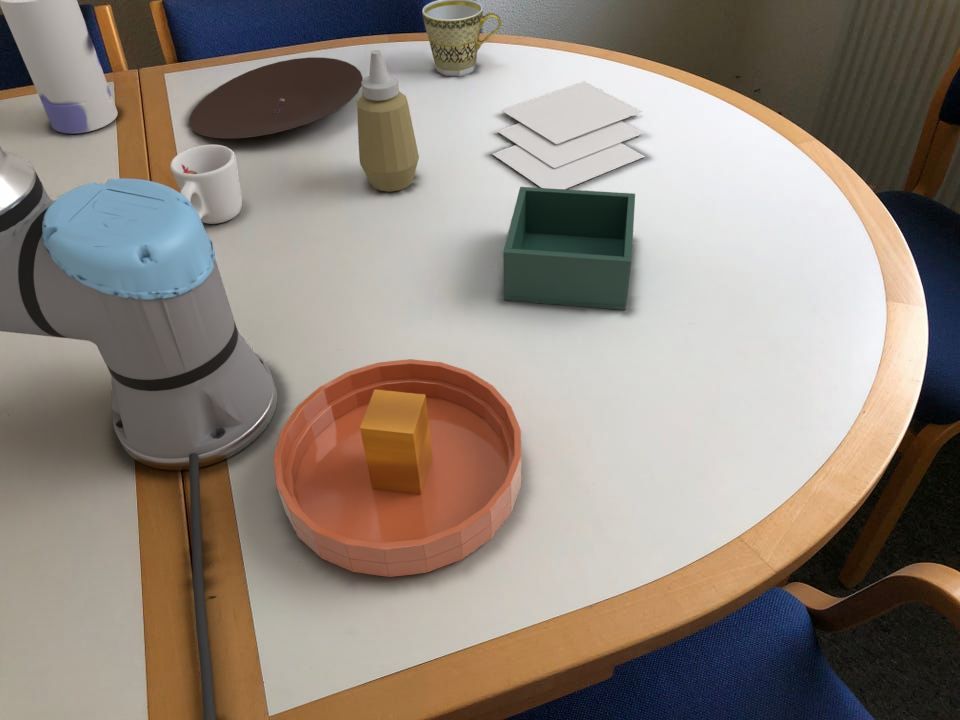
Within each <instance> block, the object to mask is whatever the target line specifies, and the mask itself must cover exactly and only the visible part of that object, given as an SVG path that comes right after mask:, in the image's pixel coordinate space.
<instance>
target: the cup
mask: <svg viewBox="0 0 960 720" xmlns="http://www.w3.org/2000/svg"><path fill="white" fill-rule="evenodd" d="M170 171H171V173H172V175H173V177H174V179H175V182H176V184H177V186H178V188H179V193H181V194H182V195H183V196H184V197H186V198H187V199H188V200H189V201H190V202H191V203H192V205H193V207H194V208H195V209H196V210H197V212H198V214H199V216H200V219H201V221H202V224H210V225H211V224H212V225H214V224H221V223H225V222H228V221H230V220H232V219H235V217H237V215H239V214H240V212H241V210H242V207H243V197H242V196H243V195H242V189H241V184H240V175H239V170H238V164H237V157H236V154H235V152H234V151H233V149H231V148H229V147H228V146H226V145H225V146H224V145H222V144H202V145H197V146H193V147H190V148H188V149H185V150H182V151H181V152H179V153H178V154H176V155H175V156H174V157H173V158H172V160H171V162H170Z"/></svg>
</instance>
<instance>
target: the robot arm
mask: <svg viewBox="0 0 960 720" xmlns="http://www.w3.org/2000/svg"><path fill="white" fill-rule="evenodd" d="M214 246H215V245H214V244H213V240H212V239H211V237H210V236H209V234H208V232H207V230H206V229H205V226H204V223H203V222H202V221H201V219H200V216H199V214H198V212H197V210H196V209H195V208H194V207H193V205H192V203H191V202H190V201H189V200H188V199H187V198H186V197H184V196H183V195H182V194H181V193H180V191H177V190H176V189H174V188H172V187H170V186H167V185H166V184H162V183H159V182H156V181H151V180H148V179H139V178H128V177H127V178H110V179H108V180H107V181H106V182H105V183H97V182H95V181H92V182H89V183H86V184H83V185H80V186H77V187H75V188H72V189H71V190H69V191H67V192H65V193H63V194H61V195H60V196H58V197H57V198H56V199H55V200H53V199H52V198H50V196H49V194H48V192H47V191H46V189H45V187H44V184H43V183H42V181H41V179H40V177H39V175H38V173H37V171H36V169H35V167H34V166H33V163H31V162H30V161H29V160H28V159H26V158H25V157H23V156H22V155H19V154H16V153H13V152H10V151H7V150H4V149H3V148H2V147H1V146H0V332H2V333H3V332H4V333H14V334H23V335H24V334H25V335H31V336H32V335H33V336H43V337H51V338H60V339H70V340H77V341H78V340H79V341H87V342H91V343H92V344H94V345H95V346H96V347H97V350H98V351H99V354H100V356H101V357H102V359H103V361H104V363H105V365H106V366H107V369H108V371H109V374H110V379H111V381H110V382H111V409H112V410H111V411H112V412H111V416H112V424H113V429H114V431H115V434H116V436H117V438H118V440H119V442H120V443H121V446H122V448H123V449H124V450H125V453H127V454H128V455H129V456H130V457H131V458H132V459H134V460H135V461H137V462H138V463H140V464H142V465H145V466H147V467H150V468H153V469H159V470H165V471H186V470H187V471H188V470H189V472H188V473H189V496H190V497H189V498H190V499H189V500H190V525H191V557H192V558H191V559H192V560H191V561H192V584H193V602H194V617H195V627H196V628H195V629H196V639H197V648H198V658H199V659H198V660H199V669H200V680H201V695H202V711H203V713H202V714H203V720H217V713H216V700H215V688H214V677H213V665H212V657H211V646H210V639H209V627H208V618H207V608H206V596H205V594H206V593H205V579H204V576H205V575H204V559H203V558H204V557H203V556H204V555H203V533H202V532H203V531H202V529H203V527H202V509H201V488H200V486H201V485H200V468H203V467H207V466H210V465H214V464H216V463H219V462H222V461H224V460H226V459H228V458H230V457H232V456H235V455H236V454H237V453H239V452H241V451H242V450H244V449H246V448H247V447H248V446H250V444H252V443H253V442H254V441H255V440H257V439H258V437H259V436H261V434H262V433H263V432H264V431H265V430H266V428H267V427H268V425H269V424H270V423H271V420H272V419H273V416H274V414H275V412H276V409H277V404H278V391H277V388H276V384H275V381H274V377H273V375H272V372H271V370H270V368H269V367H268V365H267V364H266V362H265V361H264V360H263V359H262V357H260V355H258V354H257V353H256V352H255V351H253V343H252V340H251V339H249V343H248V342H247V341H246V339H245V338H244V337H243V335H242V334H241V333H240V332H239V329H238V327H237V324H236V321H235V318H234V314H233V311H232V307H231V304H230V300H229V298H228V294H227V292H226V288H225V286H224V282H223V279H222V276H221V273H220V269H219V266H218V263H217V260H216V252H215V247H214Z"/></svg>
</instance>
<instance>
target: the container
mask: <svg viewBox="0 0 960 720" xmlns="http://www.w3.org/2000/svg"><path fill="white" fill-rule="evenodd" d="M0 9H1V11H2V13H3V17H4V18H5V20H6V23H7V25H8V28H9V29H10V32H11V35H12V37H13V39H14V42H15V44H16V46H17V48H18V51H19V53H20V56H21V58H22V60H23V62H24V64H25V67H26V69H27V71H28V74H29V77H30V78H31V82H32V83H33V85H34V88H35V90H36V92H37V94H38V97H39V99H40V101H41V104H42V106H43V109H44V111H45V114H46V116H47V118H48V120H49V123H50V126H51V127H52V129H53V130H54V131H56V132H58V133H62V134H69V135H70V134H71V135H73V134H84V133H88V132H92V131H96V130H100V129H102V128H104V127H107V126H108V125H110V124H111V123H113V122H114V121H115V120H116V119H117V117H118V115H119V112H118V109H117V107H116V104H115V101H114V98H113V96H112V92H111V89H110V87H109V85H108V81H107V79H106V76H105V73H104V71H103V68H102V65H101V62H100V59H99V57H98V54H97V51H96V49H95V46H94V43H93V40H92V38H91V35H90V33H89V30H88V27H87V24H86V20H85V18H84V16H83V12H82V11H81V8H80V5H79V2H78V0H0Z"/></svg>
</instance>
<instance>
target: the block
mask: <svg viewBox="0 0 960 720" xmlns="http://www.w3.org/2000/svg"><path fill="white" fill-rule="evenodd" d="M360 432H361V436H362V441H363V446H364V451H365V456H366V461H367V466H368V471H369V476H370V480H371V485H372V489H379V490H387V491H396V492H404V493H412V494H422V491H423V487H424V484H425V480H426V477H427V473H428V470H429V466H430V463H431V459H432V448H431V439H430V431H429V422H428V413H427V405H426V396H425V395H424V394H414V393H404V392H395V391H385V390H374V392H373V394H372V397H371V400H370V402H369V405H368V408H367V410H366V413H365V415H364V418H363V421H362V423H361V426H360Z"/></svg>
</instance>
